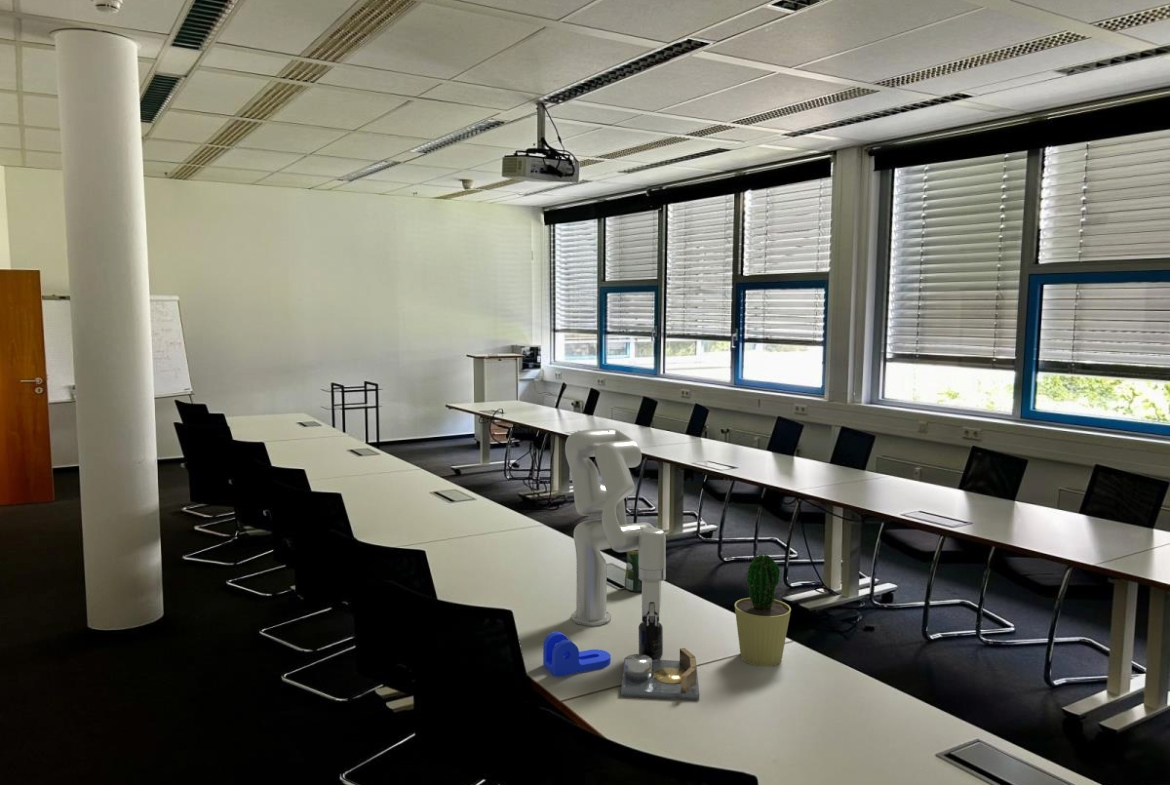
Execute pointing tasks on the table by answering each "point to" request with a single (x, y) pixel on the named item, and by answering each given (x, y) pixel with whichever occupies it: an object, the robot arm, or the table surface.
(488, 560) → the table surface
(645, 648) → the supplement bottle
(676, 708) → the table surface
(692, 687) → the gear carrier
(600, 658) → the bracket
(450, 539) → the table surface
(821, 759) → the table surface
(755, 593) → the potted cactus
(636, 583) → the coffee jar
